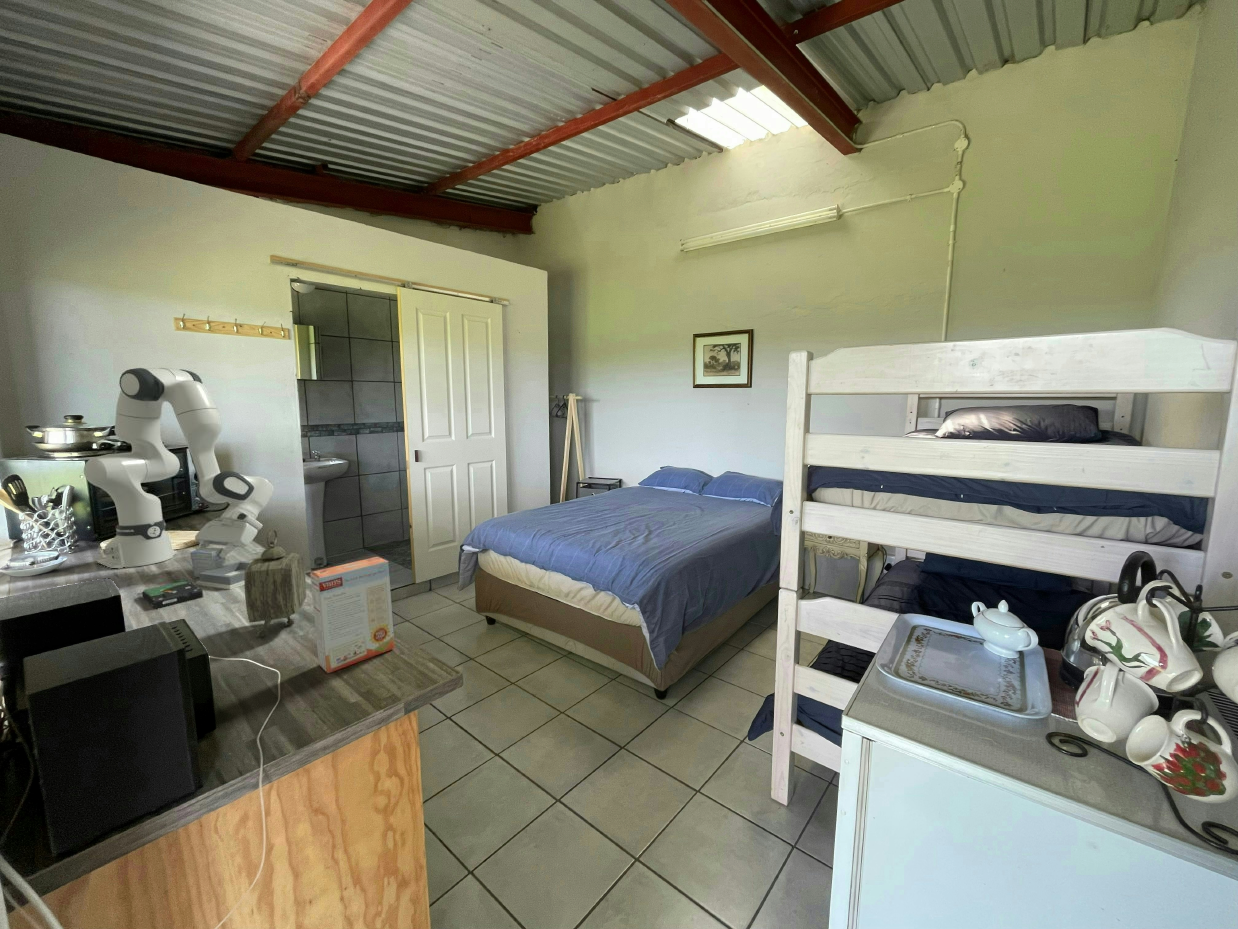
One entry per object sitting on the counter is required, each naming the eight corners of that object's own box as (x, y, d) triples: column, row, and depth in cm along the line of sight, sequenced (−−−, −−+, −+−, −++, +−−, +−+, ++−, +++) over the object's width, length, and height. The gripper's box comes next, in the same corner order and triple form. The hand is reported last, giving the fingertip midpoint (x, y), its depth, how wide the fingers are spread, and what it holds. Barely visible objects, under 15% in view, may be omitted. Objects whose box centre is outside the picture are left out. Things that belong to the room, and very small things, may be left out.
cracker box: (384, 641, 114) (378, 555, 111) (395, 649, 110) (390, 560, 107) (316, 664, 103) (309, 570, 101) (326, 675, 99) (318, 577, 97)
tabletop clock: (269, 617, 126) (260, 524, 123) (309, 612, 130) (302, 521, 127) (249, 642, 113) (239, 538, 110) (294, 636, 116) (286, 535, 113)
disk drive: (204, 599, 140) (187, 588, 148) (203, 590, 140) (186, 579, 148) (156, 611, 132) (141, 598, 140) (155, 601, 131) (140, 589, 140)
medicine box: (228, 572, 160) (224, 547, 158) (215, 578, 155) (211, 552, 154) (207, 571, 161) (202, 547, 159) (194, 577, 156) (189, 551, 155)
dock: (196, 584, 150) (195, 573, 149) (242, 570, 163) (241, 560, 163) (230, 589, 146) (229, 578, 145) (274, 574, 159) (273, 563, 159)
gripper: (206, 513, 166) (177, 548, 158) (252, 516, 160) (224, 553, 152) (221, 522, 171) (194, 558, 162) (266, 526, 165) (240, 562, 157)
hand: (209, 555), depth 157 cm, fingers open, 8 cm apart
